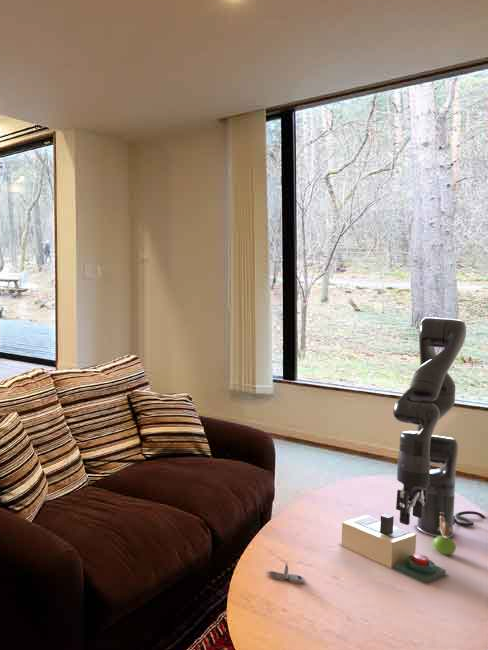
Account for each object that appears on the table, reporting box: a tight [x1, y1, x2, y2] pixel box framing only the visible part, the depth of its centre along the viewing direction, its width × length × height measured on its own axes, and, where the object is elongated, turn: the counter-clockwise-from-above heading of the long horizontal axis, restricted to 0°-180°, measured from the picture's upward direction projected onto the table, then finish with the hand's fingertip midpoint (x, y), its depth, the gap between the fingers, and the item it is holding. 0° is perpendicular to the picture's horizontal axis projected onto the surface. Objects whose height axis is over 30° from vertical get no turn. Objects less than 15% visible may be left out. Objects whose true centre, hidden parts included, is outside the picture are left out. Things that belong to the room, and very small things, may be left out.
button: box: [413, 553, 430, 565], centre depth 159 cm, size 4×4×2 cm
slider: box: [380, 513, 395, 535], centre depth 166 cm, size 3×2×6 cm, turn 113°
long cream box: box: [341, 514, 417, 569], centre depth 171 cm, size 12×15×8 cm
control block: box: [394, 555, 447, 584], centre depth 159 cm, size 10×8×4 cm
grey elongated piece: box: [269, 562, 304, 584], centre depth 157 cm, size 8×3×4 cm, turn 65°
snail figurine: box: [432, 512, 457, 556], centre depth 170 cm, size 5×6×12 cm
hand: (411, 520), depth 160 cm, fingers open, 8 cm apart
